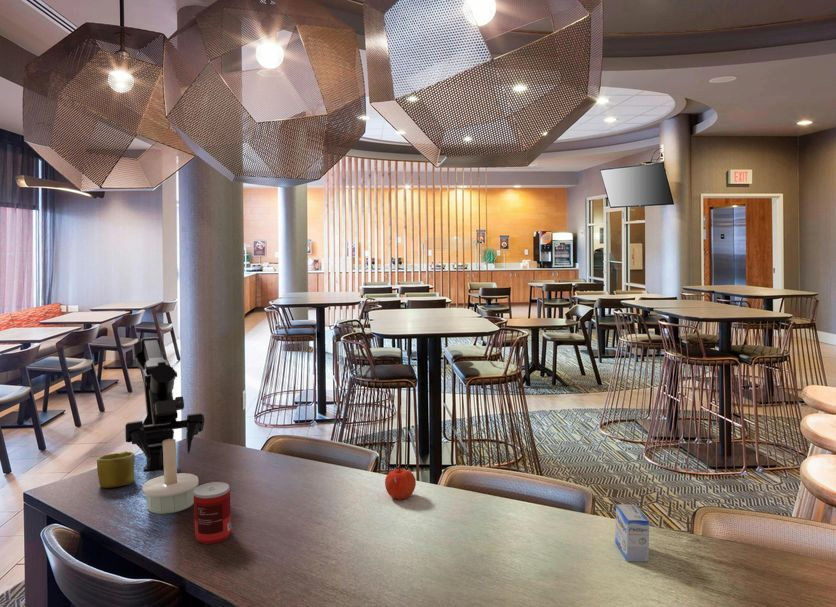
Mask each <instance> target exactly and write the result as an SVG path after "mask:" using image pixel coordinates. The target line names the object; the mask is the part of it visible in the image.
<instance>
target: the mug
mask: <svg viewBox="0 0 836 607" xmlns="http://www.w3.org/2000/svg"><path fill="white" fill-rule="evenodd" d="M135 458H136V457H135V453H134V452H132V451H126V450H125V451H120V452H119V453H118V452H116V453H110V454H104V455H101V456H99V457H97V458H96V468H97V478H98V484H99V486H100V487H101V488H102V489H113V488H119V487H123V486H124V487H125V486H129V485H131V484H132V483H133V482H134V481H135V460H136V459H135Z"/></svg>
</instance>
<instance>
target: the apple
mask: <svg viewBox="0 0 836 607" xmlns="http://www.w3.org/2000/svg"><path fill="white" fill-rule="evenodd" d="M416 484H417V482H416V477H415V475H414V474H413V472H411V471H410V470H408V469H402V468H401V466H399V467H398V468H396V469H394V470H392V471H389V473H388V474H387V475H386V476H385V479H384V487H385V491H386V492H387V494H388V495H389V497H391V498H393V499H396V500H405V499H407V498H409V497H410V496H412V494H413V493H414V492H415V488H416V487H417V486H416Z"/></svg>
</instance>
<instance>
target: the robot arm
mask: <svg viewBox="0 0 836 607" xmlns="http://www.w3.org/2000/svg"><path fill="white" fill-rule="evenodd" d="M132 355H133V356H132V357H133V359H135V363H136V364H135V365H136V366H137V368H139V370H140V371H141V372H142V382H143V388H144V399H145V409H146V416H145V419H144V420H138V421H137V420H136V421H128V422H127V423H126V424H124V425H125V428H124V435H125V436H124V438H125V442H126V443H131V444H132V445H136V446H137V447H138V448H139V449H140V451H142V452H143V454H144V455H145V463H146V464H145V465H144V467H143V472H147V471H155V470H164V463H163V441H164V440H167V439H174V437H175V430H178V429H185V428H186V433H185V434H186V436H185V437H186V451H187V454H188V455H189V454H191V446H192V442H193V440H194V437H195V436H197V435H199V433H201V432H203V431H204V426H205V415H204V414H203V413H202V412H197V413H189V414H187V415H186V419H184V420H177V419H178V416H179V415H178V411H182V410H184V409H185V401H184V397H183V396H176V397H175V398H174V396H173V395H174V394H173V390H174V384H175V380H176V378H177V377H178V372H177V371H176V370H175V369H174V367H173V366H171V363H170V361H169V360H167V359H164V358H163V357H164V355H165V348H164V342H163V341H162V340H160V337H157V336H151V337H150V336H149V337H143V338H141V339H140V340H139V341H137V342H135V343H134V344H133V347H132Z"/></svg>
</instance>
